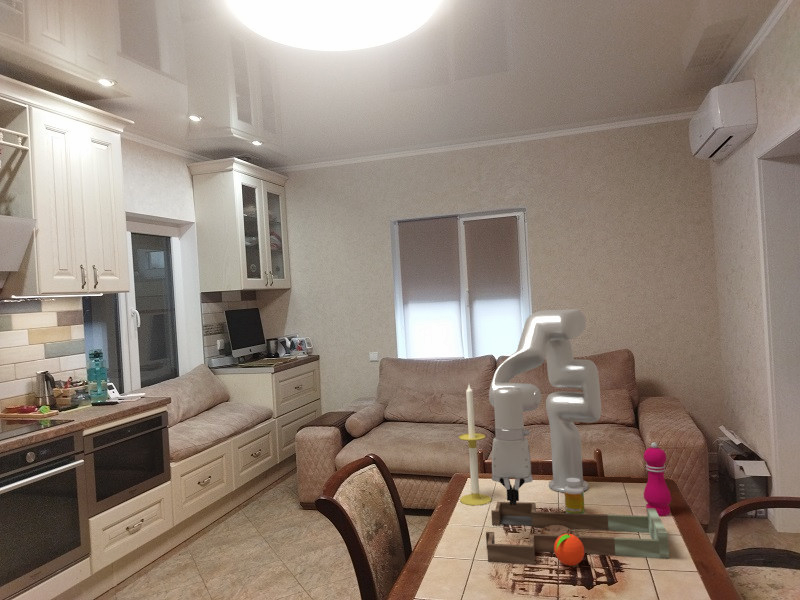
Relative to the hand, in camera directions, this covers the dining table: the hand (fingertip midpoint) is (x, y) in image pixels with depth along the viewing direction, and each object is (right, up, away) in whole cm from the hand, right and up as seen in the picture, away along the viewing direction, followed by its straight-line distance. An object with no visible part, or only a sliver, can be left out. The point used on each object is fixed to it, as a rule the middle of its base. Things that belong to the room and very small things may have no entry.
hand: (513, 503), depth 149 cm
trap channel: (+15, -8, -3) cm, 18 cm away
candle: (-6, -10, +30) cm, 32 cm away
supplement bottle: (+21, -8, +15) cm, 27 cm away
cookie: (+12, -9, -2) cm, 15 cm away
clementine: (+10, -9, -17) cm, 21 cm away
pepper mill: (+44, -7, +12) cm, 46 cm away
